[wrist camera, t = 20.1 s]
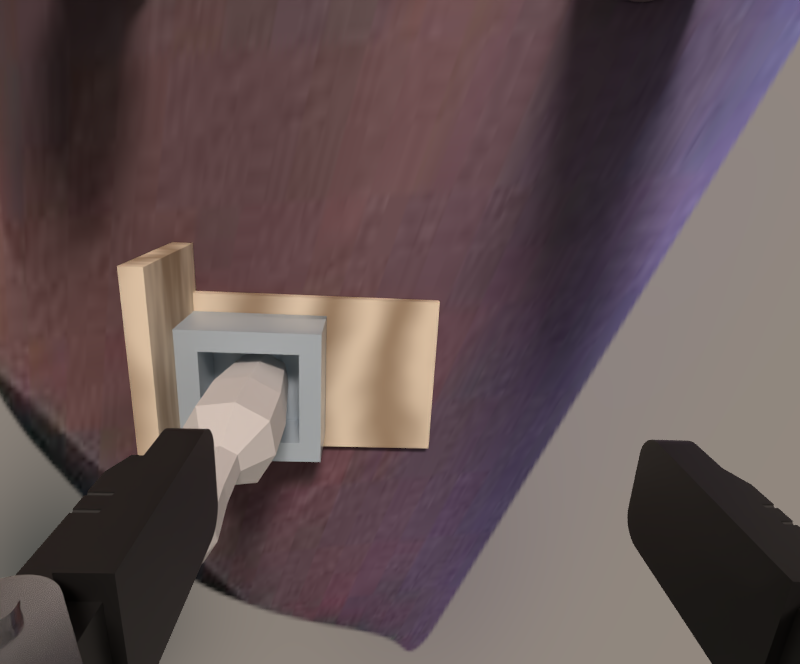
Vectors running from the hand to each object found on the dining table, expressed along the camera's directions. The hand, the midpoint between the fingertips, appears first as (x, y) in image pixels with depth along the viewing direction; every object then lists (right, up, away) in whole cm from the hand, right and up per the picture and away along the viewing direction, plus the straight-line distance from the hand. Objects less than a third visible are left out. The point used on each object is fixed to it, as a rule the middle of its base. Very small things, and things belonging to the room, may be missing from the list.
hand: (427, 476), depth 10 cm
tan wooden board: (-9, -1, +38) cm, 39 cm away
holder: (-13, -1, +36) cm, 39 cm away
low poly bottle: (-12, -1, +36) cm, 38 cm away
